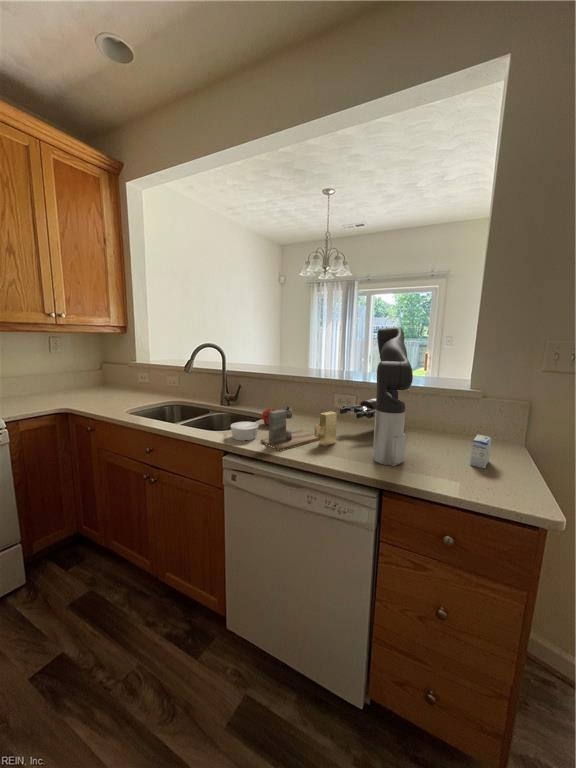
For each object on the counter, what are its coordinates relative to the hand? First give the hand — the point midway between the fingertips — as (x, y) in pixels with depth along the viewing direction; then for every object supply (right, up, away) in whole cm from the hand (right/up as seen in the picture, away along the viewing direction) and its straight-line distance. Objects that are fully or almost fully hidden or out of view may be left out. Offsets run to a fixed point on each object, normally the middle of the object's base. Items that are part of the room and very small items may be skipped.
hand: (348, 413), depth 130 cm
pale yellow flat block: (-11, -11, -8) cm, 17 cm away
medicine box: (+39, -15, -24) cm, 48 cm away
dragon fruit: (-32, -7, +17) cm, 37 cm away
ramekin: (-42, -10, -1) cm, 43 cm away
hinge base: (-23, -10, -4) cm, 26 cm away
